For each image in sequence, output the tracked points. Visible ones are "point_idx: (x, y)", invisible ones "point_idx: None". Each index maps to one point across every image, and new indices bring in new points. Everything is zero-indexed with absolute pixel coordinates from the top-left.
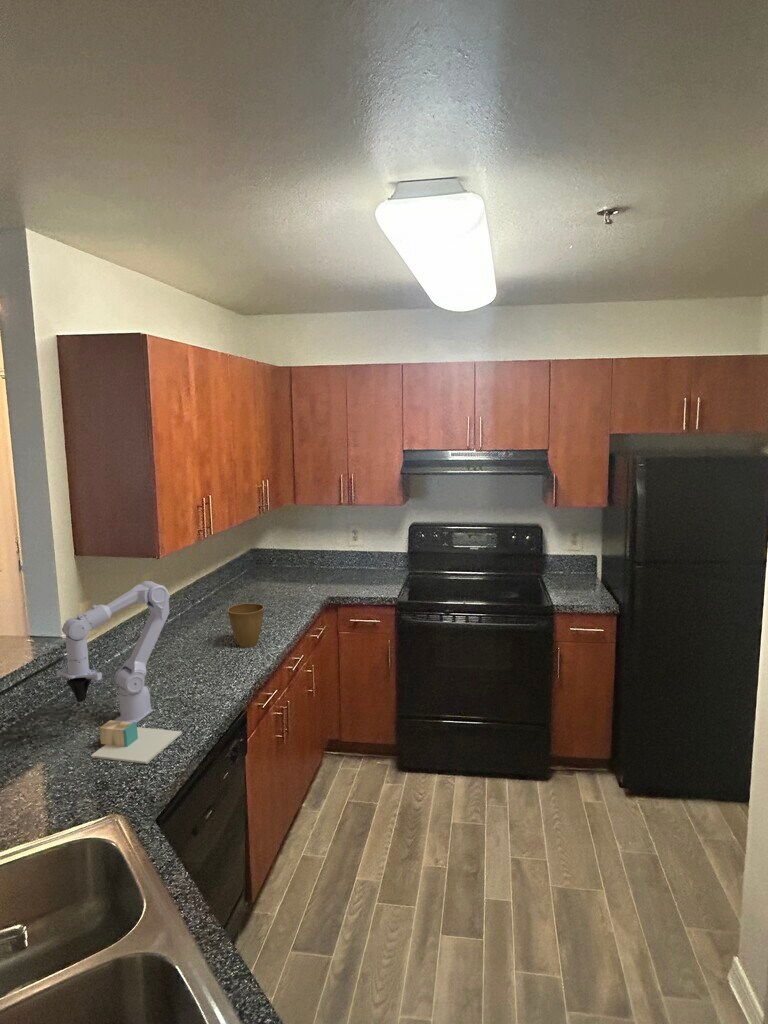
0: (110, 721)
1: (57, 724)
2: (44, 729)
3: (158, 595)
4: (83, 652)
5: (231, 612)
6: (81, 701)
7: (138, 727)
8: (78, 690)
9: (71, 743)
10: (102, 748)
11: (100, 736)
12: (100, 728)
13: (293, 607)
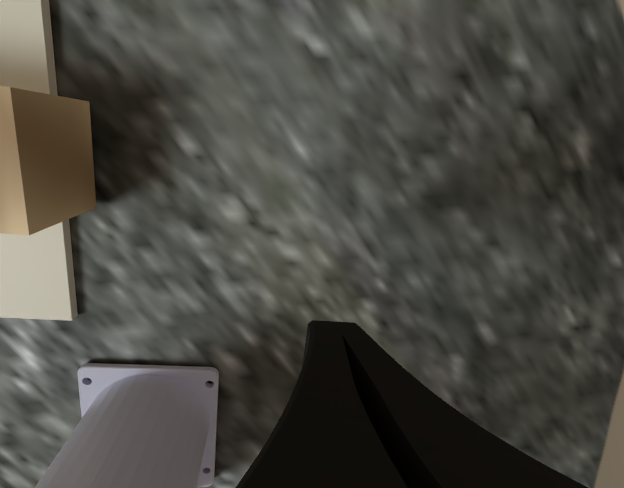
0: (6, 212)
1: (493, 309)
2: (533, 257)
3: None
4: None
5: None
6: (307, 328)
7: (10, 315)
8: (330, 413)
9: (303, 121)
10: (26, 36)
11: (56, 96)
12: (1, 87)
13: None
